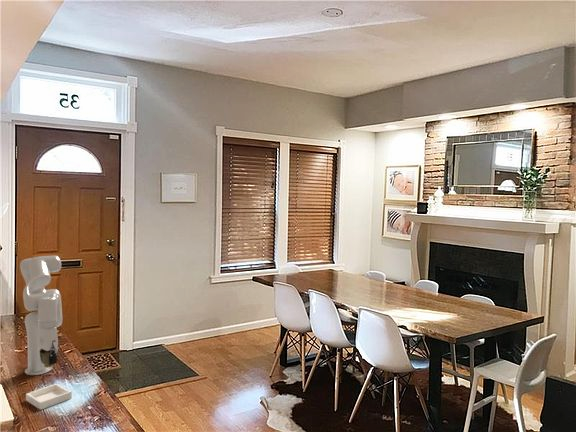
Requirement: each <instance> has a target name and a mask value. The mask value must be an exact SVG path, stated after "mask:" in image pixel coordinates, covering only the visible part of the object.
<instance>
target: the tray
mask: <svg viewBox="0 0 576 432" xmlns="http://www.w3.org/2000/svg"><path fill="white" fill-rule="evenodd" d="M72 392H73V391H71V390H69V389H68V388H66V387H63V386H62V385H60V384H58V383H54V384H52V385H48V386H45V387H41V388H39V389H36V390H33V391H31V392H27V393H25V401H26V402H28V403H29V404H31V405H32V406H34V407H35V408H37V409H38V410H43V409H46V408H49V407H51V406H53V405H57V404H60V403H62V402H66V401H68V400H71V399H72V396H73V395H72Z"/></svg>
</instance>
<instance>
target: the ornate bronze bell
mask: <svg viewBox="0 0 576 432" xmlns="http://www.w3.org/2000/svg"><path fill="white" fill-rule="evenodd" d="M51 349H53V347H52V348H51ZM53 351H54V350H52V351H51V352H53ZM49 356H50V354H49V351H46V350H44V349H41V350H40V359H41V362H42V363H43V364H45V365H44V366H45V367H46V368H49V367H53V366H54V364H52V365H49Z"/></svg>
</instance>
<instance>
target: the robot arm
mask: <svg viewBox="0 0 576 432" xmlns="http://www.w3.org/2000/svg"><path fill="white" fill-rule="evenodd" d="M19 269H20V273H21V275H22V277H23V280H24V282H25V286H24V288H23V291H22V299H23V305H24V308H25V310H27V312H28V311H30V313H28V314H27V315H26V316H25V317H24V325H25V329H26V337H27V338H26V339H27V368H25V370H24V373H25V374H26V375H27V376H38V375H44V374H47V373H49V372H50V371H52V367H53V366H52V367H49V368H46V367H45V366H44V365H45V364H43V363H42V362H41V359H40V350H41V349H44V350H46V351H49V354H50V356H49V365H52V364H53V365H55V364H57V363H58V362H57V361H58V353H59V338H58V330H57V329H58V327H60V326H62V324H63V308H62V305H63V304H62V295H61V293H60V290H58V289H57V288H52V289H51V288H50V289H46V288H45V287H47V286H49V284H50V283H51V281H52V276H51V273H58V272H59V271H61V269H62V261H61V258H60V257H59V256H58V255H41V256H34V257H30V258H24V259H22V260H20V263H19ZM32 311H33V312H32ZM52 347H53V349H51V348H52ZM52 350H54V351H53V352H51V351H52Z"/></svg>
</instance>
